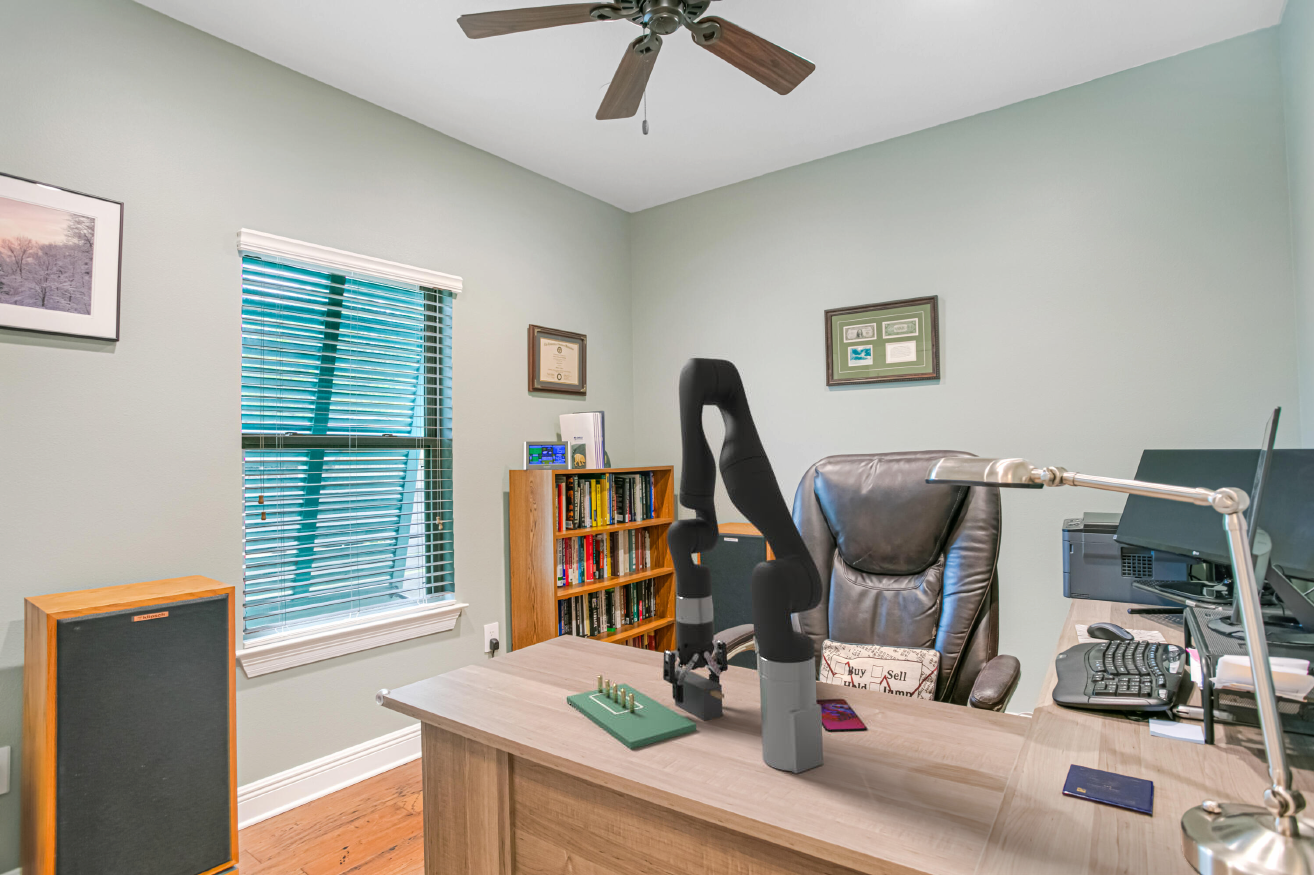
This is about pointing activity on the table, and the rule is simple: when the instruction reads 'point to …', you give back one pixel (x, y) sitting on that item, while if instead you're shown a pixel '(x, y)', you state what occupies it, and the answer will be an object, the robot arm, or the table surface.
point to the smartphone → (839, 716)
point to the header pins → (616, 694)
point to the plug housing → (701, 697)
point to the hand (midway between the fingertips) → (696, 697)
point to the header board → (631, 717)
